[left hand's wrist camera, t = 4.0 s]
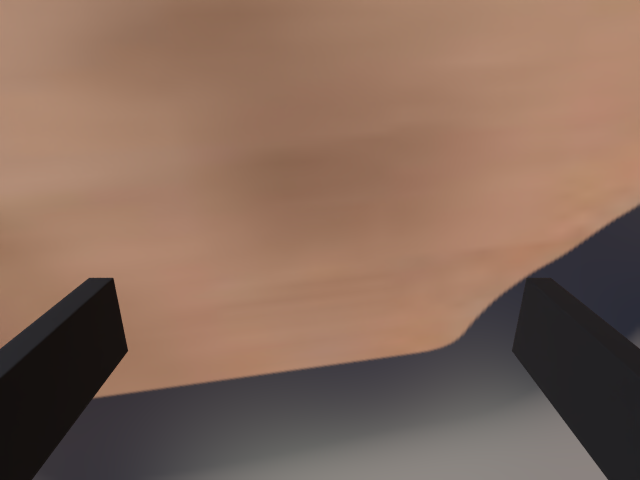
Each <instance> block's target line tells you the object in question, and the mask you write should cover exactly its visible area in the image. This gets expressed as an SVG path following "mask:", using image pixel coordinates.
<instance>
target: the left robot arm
mask: <svg viewBox="0 0 640 480" xmlns="http://www.w3.org/2000/svg"><path fill="white" fill-rule="evenodd" d="M127 352H128V349H127V344H126V339H125V334H124V329H123V324H122V319H121V314H120V309H119V304H118V299H117V294H116V289H115V284H114V279H113V278H89V279H87V280H86V281H85V282H84V283H82V284H81V285H80V286H79V287H77V288H76V289H75V290H74V291H72V292H71V293H70V294H68V295H67V296H66V297H65V298H63V299H62V300H61V301H60V302H58V303H57V304H56V305H55V306H53V307H52V308H51V309H50V310H48V311H47V312H46V313H45V314H43V315H42V316H41V317H40V318H38V319H37V320H36V321H35V322H33V323H32V324H31V325H30V326H28V327H27V328H26V329H25V330H23V331H22V332H21V333H20V334H18V335H17V336H16V337H15V338H13V339H12V340H11V341H10V342H8V343H7V344H6V345H5V346H3V347H2V348H1V349H0V480H32V479H33V477H34V476H35V475H36V473H37V472H38V471H39V469H40V468H41V467H42V465H43V464H44V463H45V461H46V460H47V459H48V457H49V456H50V455H51V453H52V452H53V451H54V449H55V448H56V447H57V445H58V444H59V443H60V441H61V440H62V439H63V437H64V436H65V435H66V433H67V432H68V431H69V429H70V428H71V426H72V425H73V424H74V423H75V421H76V420H77V418H78V417H79V416H80V414H81V413H82V412H83V410H84V409H85V408H86V406H87V405H88V404H89V402H90V401H91V400H92V398H93V397H94V396H95V394H96V393H97V392H98V390H99V389H100V388H101V386H102V385H103V384H104V382H105V381H106V380H107V378H108V377H109V376H110V374H111V373H112V372H113V370H114V369H115V368H116V366H117V365H118V364H119V362H120V361H121V360H122V358H123V357H124V356H125V354H126V353H127ZM512 352H513V353H514V354H515V356H516V357H517V358H518V360H519V361H520V362H521V364H522V365H523V366H524V368H525V369H526V370H527V372H528V373H529V374H530V375H531V377H532V378H533V380H534V381H535V382H536V384H537V385H538V386H539V388H540V389H541V390H542V392H543V393H544V394H545V396H546V397H547V398H548V400H549V401H550V402H551V404H552V405H553V406H554V408H555V409H556V410H557V412H558V413H559V414H560V416H561V417H562V419H563V420H564V421H565V423H566V424H567V425H568V427H569V428H570V429H571V431H572V432H573V433H574V435H575V436H576V437H577V439H578V440H579V441H580V443H581V444H582V445H583V447H584V448H585V449H586V451H587V452H588V453H589V455H590V456H591V457H592V459H593V460H594V461H595V463H596V464H597V465H598V467H599V468H600V469H601V471H602V472H603V473H604V475H605V476H606V477H607V479H608V480H640V349H639V348H638V347H637V346H635V345H634V344H633V343H632V342H630V341H629V340H628V339H627V338H625V337H624V336H623V335H622V334H620V333H619V332H618V331H617V330H615V329H614V328H613V327H612V326H610V325H609V324H608V323H607V322H605V321H604V320H603V319H602V318H600V317H599V316H598V315H597V314H595V313H594V312H593V311H592V310H590V309H589V308H588V307H587V306H585V305H584V304H583V303H582V302H580V301H579V300H578V299H576V298H575V297H574V296H573V295H571V294H570V293H569V292H568V291H566V290H565V289H564V288H563V287H561V286H560V285H559V284H558V283H556V282H555V281H554V280H553V279H551V278H527V279H526V284H525V289H524V294H523V299H522V304H521V309H520V314H519V319H518V324H517V329H516V334H515V339H514V344H513V349H512Z"/></svg>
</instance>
